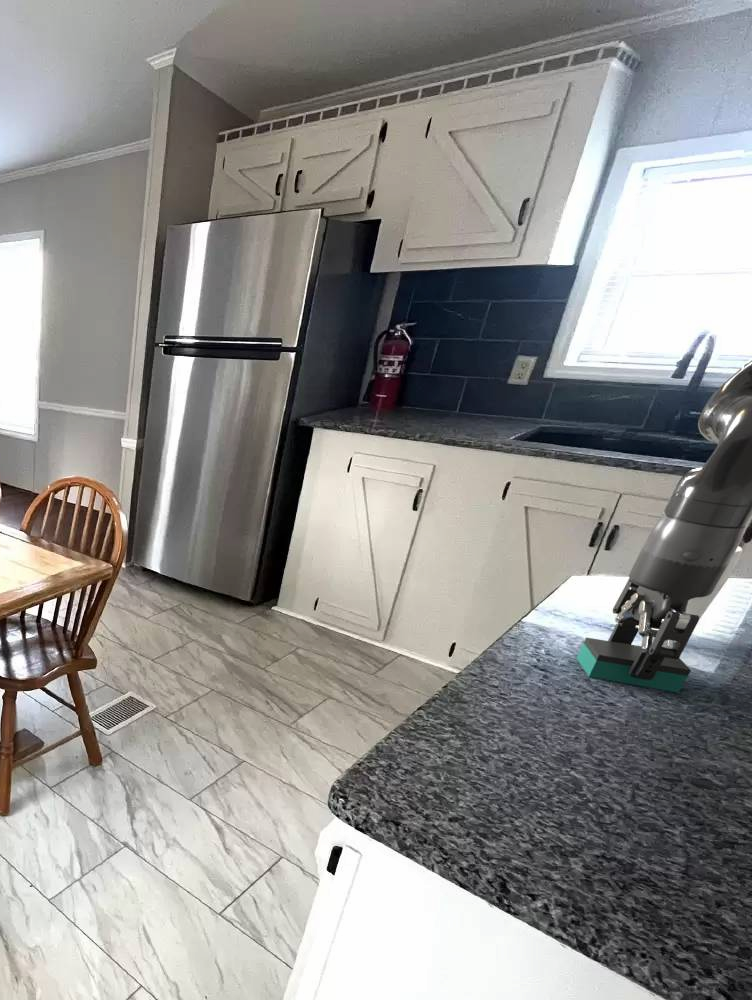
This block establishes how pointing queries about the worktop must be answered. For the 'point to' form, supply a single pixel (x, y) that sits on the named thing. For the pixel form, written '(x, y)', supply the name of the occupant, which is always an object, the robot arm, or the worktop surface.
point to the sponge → (628, 665)
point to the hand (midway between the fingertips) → (627, 662)
